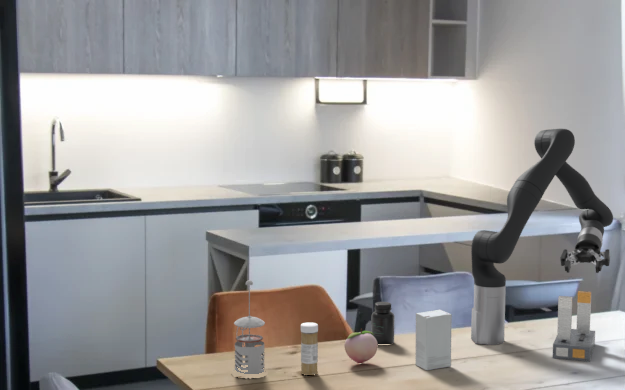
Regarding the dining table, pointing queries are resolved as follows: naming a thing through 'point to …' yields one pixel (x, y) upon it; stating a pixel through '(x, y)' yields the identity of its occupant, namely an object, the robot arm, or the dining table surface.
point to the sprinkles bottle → (309, 348)
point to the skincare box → (433, 339)
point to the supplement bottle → (383, 323)
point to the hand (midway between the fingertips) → (582, 270)
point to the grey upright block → (564, 317)
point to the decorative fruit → (361, 346)
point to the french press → (249, 344)
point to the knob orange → (583, 312)
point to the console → (575, 346)
